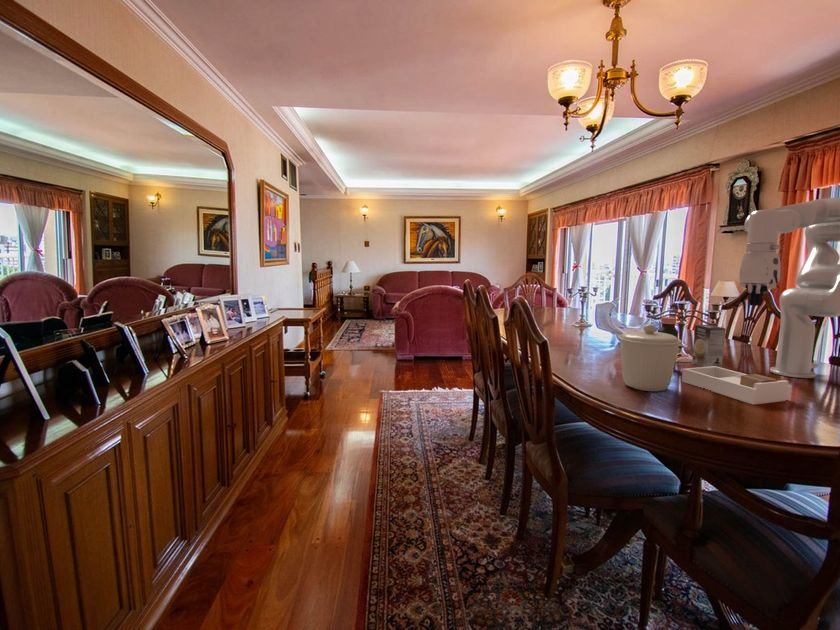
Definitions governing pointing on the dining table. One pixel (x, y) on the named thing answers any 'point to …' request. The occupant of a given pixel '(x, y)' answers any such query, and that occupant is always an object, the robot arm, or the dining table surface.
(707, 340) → the coffee box
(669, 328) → the bottle
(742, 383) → the walnut block
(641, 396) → the dining table surface
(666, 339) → the canister
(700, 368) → the box
